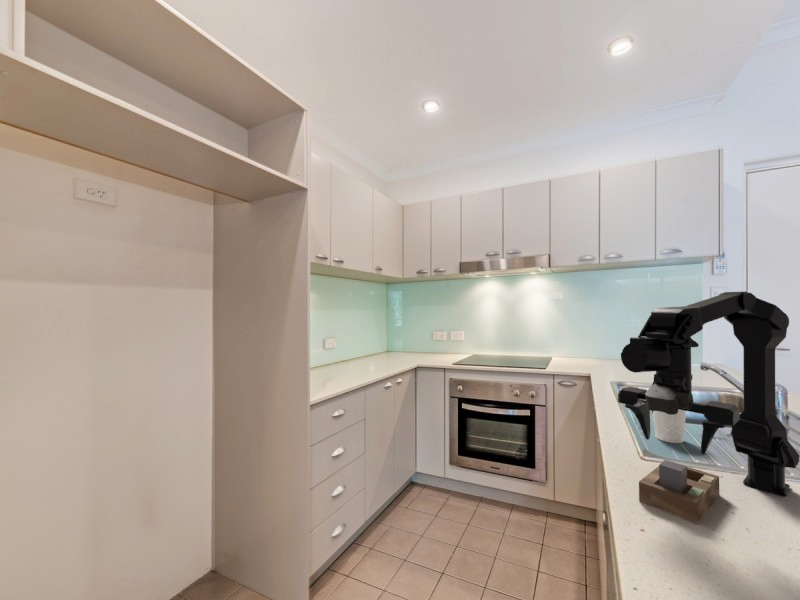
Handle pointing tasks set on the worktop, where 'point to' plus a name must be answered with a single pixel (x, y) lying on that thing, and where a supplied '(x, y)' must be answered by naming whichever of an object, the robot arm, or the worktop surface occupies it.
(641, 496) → the socket block
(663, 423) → the white cup
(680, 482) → the plug
